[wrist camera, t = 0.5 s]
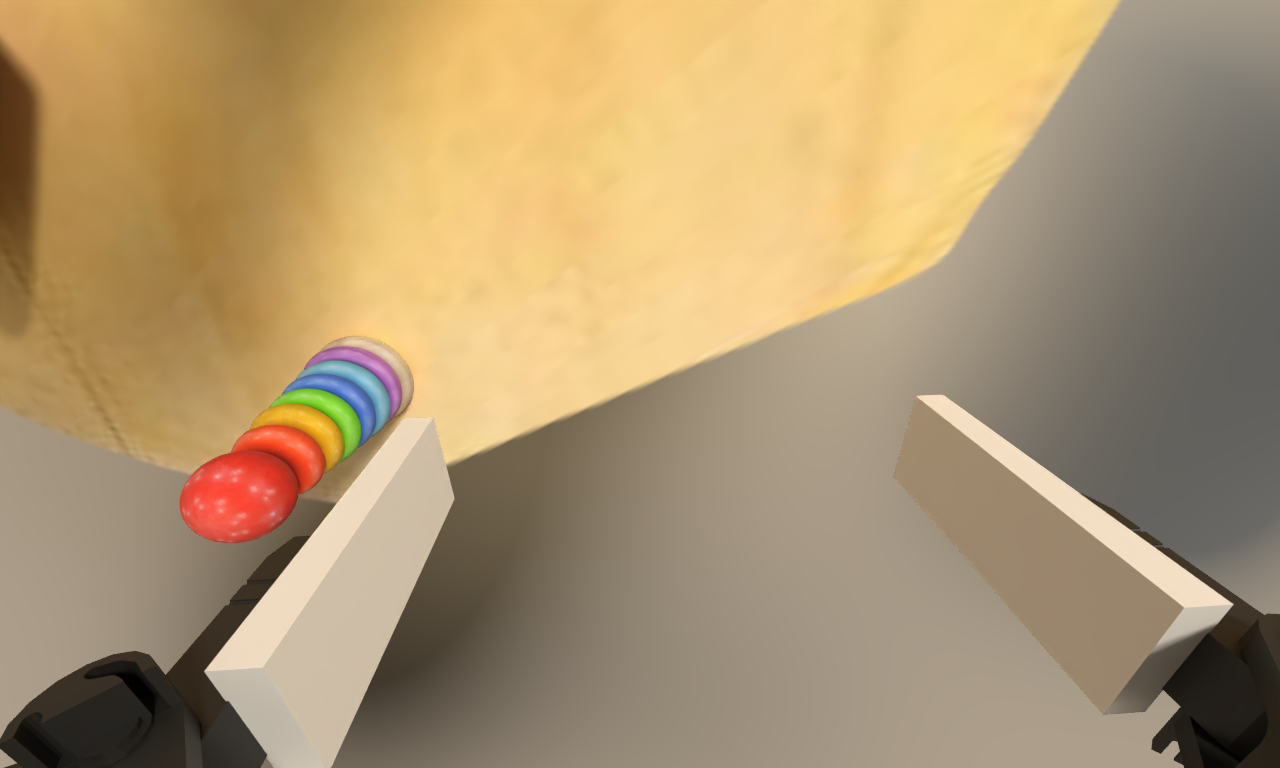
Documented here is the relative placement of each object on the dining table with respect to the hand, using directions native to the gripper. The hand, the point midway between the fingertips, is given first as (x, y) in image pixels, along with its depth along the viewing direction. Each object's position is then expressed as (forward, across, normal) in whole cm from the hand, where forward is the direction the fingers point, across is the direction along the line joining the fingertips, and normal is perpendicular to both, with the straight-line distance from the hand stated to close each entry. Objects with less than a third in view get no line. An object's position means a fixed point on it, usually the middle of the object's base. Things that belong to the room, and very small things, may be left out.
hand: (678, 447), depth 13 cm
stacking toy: (+28, -24, -10) cm, 38 cm away
